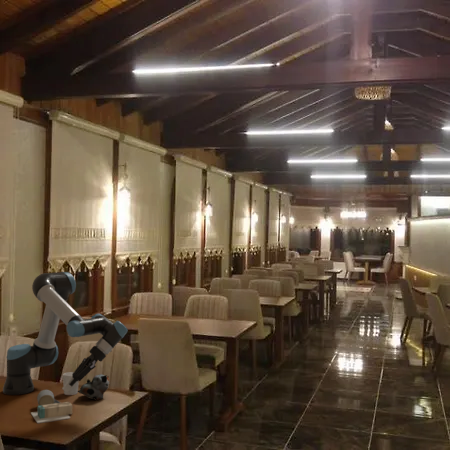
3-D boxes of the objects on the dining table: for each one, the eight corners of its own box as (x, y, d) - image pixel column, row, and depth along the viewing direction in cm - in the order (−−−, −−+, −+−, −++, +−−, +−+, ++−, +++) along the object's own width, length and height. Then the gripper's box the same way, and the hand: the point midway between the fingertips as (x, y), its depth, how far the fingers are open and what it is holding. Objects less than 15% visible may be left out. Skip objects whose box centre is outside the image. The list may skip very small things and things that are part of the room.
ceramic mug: (38, 411, 263) (38, 394, 263) (36, 406, 270) (37, 390, 271) (62, 409, 267) (62, 392, 267) (60, 404, 274) (60, 388, 274)
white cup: (82, 392, 294) (82, 373, 294) (70, 396, 287) (70, 376, 288) (71, 390, 298) (71, 371, 299) (59, 394, 292) (59, 374, 292)
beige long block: (69, 410, 263) (37, 414, 256) (69, 401, 263) (37, 405, 256) (72, 413, 257) (40, 418, 251) (72, 405, 258) (40, 409, 251)
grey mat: (30, 413, 259) (30, 412, 259) (62, 409, 266) (62, 408, 266) (37, 423, 245) (37, 422, 245) (70, 418, 252) (70, 417, 252)
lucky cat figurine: (83, 393, 292) (97, 368, 296) (103, 404, 290) (116, 378, 293) (73, 392, 278) (87, 366, 281) (94, 404, 275) (108, 377, 279)
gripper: (110, 358, 263) (73, 399, 254) (102, 352, 274) (66, 392, 266) (99, 347, 260) (61, 388, 252) (91, 342, 272) (55, 382, 263)
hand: (64, 390), depth 259 cm, fingers closed
